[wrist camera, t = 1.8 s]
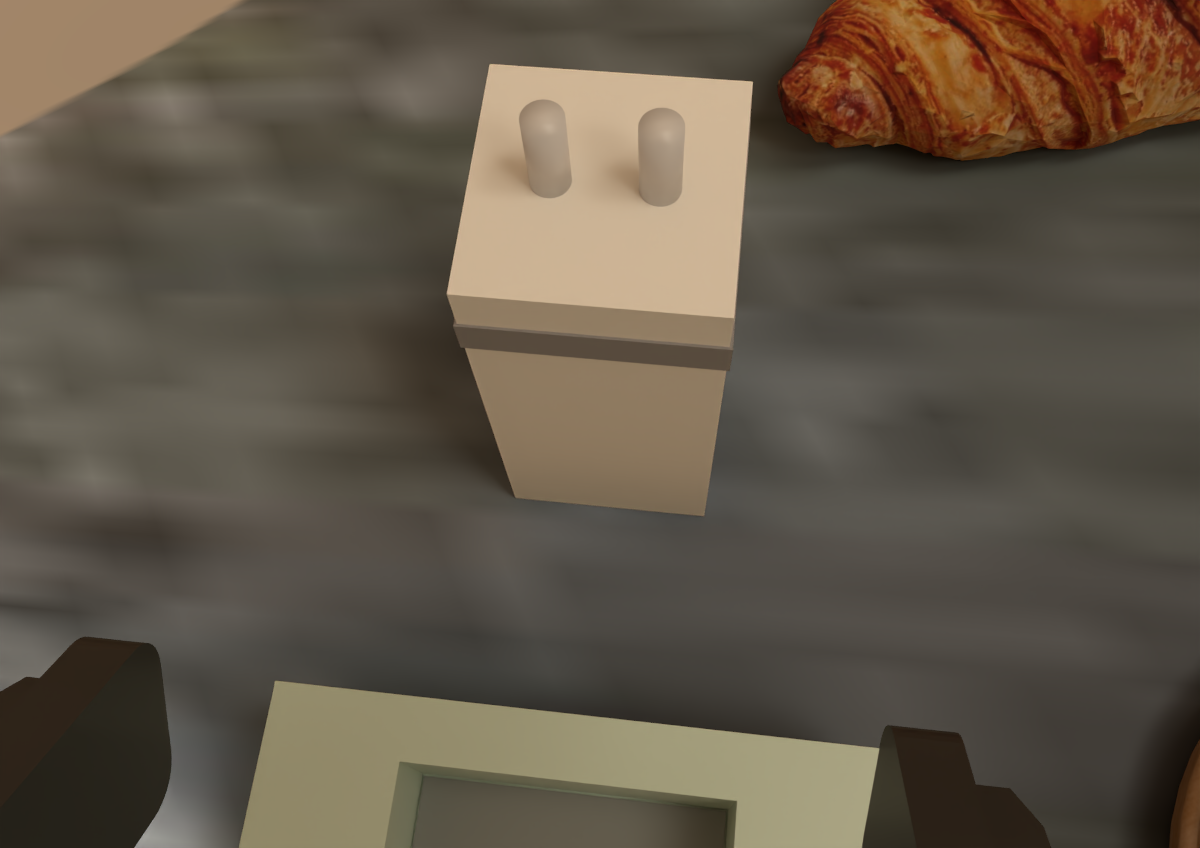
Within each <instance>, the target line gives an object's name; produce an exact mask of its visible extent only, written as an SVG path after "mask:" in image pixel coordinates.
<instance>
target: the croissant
mask: <svg viewBox="0 0 1200 848" xmlns="http://www.w3.org/2000/svg"><path fill="white" fill-rule="evenodd" d="M777 86H778V96H779V99H780V102H781V105H782V109H783V112H784V115H785V116H786V120H787V122H788V123H790V124H792V125H794V126H795V127H797V128H799V129H800V130H801V131H802V132H804V133H805V134H811V135H812V137H813V138H814V140H815V141H816V142H827V143H829V144H830V145H832V146H833V147H834V148H840V147H852V146H858V145H864V144H869V145H871V146H873V147H876V146H881V145H888V144H895V143H898V144H901V145H904V146H908V147H911V148H913V149H916V150H918V151H921V152H923V153H929V152H930V153H931V154H932V155H933V156H943V157H947V158H951V159H955V160H961V161H964V160H972V159H981V158H989V157H1001V156H1004V155H1007V154H1010V153H1013V152H1018V151H1026V150H1030V149H1035V148H1039V147H1046V148H1049V149H1071V150H1076V149H1088V148H1094V147H1098V146H1101V145H1105V144H1109V143H1113V142H1115V141H1117V140H1120V139H1122V138H1126V137H1130V136H1134V135H1138V134H1140V133H1142V132H1144V131H1146V130H1149V129H1153V128H1156V127H1160V126H1164V125H1172V124H1180V123H1186V122H1191V121H1196V120H1200V0H837V1H836V2H834V3H833V4H832V5H831V6H830V7H829V8H828V9H827V10H826V11H825V12H824V13H823V14H822V15H821V16H820V17H819V18H818V21H817V23H816V25H815V27H814V29H813V31H812V34H811V36H810V38H809V40H808V42H807V45H806V47H805V48H804V49H803V51H802V52H801V53H800V54H799V55H798V56H797V57H796V59H795V61H794V64H793V66H792V68H791V69H789V70H788V71H787V72H786V73H785V74H784V75H783V76H782V78H781V79H780V80H779V82H778V85H777Z"/></svg>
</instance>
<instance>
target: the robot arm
mask: <svg viewBox="0 0 1200 848" xmlns="http://www.w3.org/2000/svg"><path fill="white" fill-rule="evenodd" d="M170 773H171V746H170V738H169V730H168V721H167V713H166V705H165V696H164V688H163V680H162V671H161V663H160V657H159V654H158V652H157V650H156V648H155V647H154V646H153V645H151V644H149V643H140V642H131V641H121V640H112V639H103V638H94V637H82V638H80V639H78V640H76V641H75V642H74V643H73V644H72V645H71V646H70V647H69V648H68V649H67V650H66V651H65V652H64V653H63V654H62V655H61V656H60V657H59V658H58V659H57V661H56V662H55V663H54V664H53V665H52V666H51V667H50V668H49V669H48V670H47V671H46V672H45V673H44V674H43V675H42V676H41V677H40V678H33V677H25V678H23V679H22V680H20V681H18V682H16V683H15V684H13V685H11V686H9V687H8V688H6V689H4V690H3V691H1V692H0V848H134V847H135V846H136V844H137V843H138V841H139V840H140V838H141V837H142V835H143V834H144V832H145V831H146V829H147V828H148V826H149V825H150V823H151V822H152V820H153V819H154V817H155V816H156V814H157V812H158V810H159V808H160V806H161V804H162V802H163V799H164V797H165V794H166V791H167V787H168V783H169V779H170ZM862 848H1051V846H1050V844H1049V841H1048V838H1047V835H1046V832H1045V830H1044V827H1043V826H1042V825H1041V823H1040V822H1039V821H1038V820H1037V819H1036V818H1035V817H1034V815H1033V814H1032V813H1031V812H1030V811H1029V810H1028V809H1027V807H1026V806H1025V805H1024V804H1023V803H1022V802H1021V801H1020V799H1019V798H1018V797H1017V796H1016V795H1015V794H1014V793H1013V791H1012V790H1011V789H1010V788H1001V787H992V786H983V785H976V784H975V780H974V777H973V774H972V770H971V767H970V763H969V760H968V757H967V753H966V750H965V746H964V743H963V740H962V738H961V736H960V735H959V734H958V733H955V732H945V731H936V730H927V729H917V728H908V727H899V726H890V725H888V726H886V728H885V729H884V732H883V735H882V738H881V743H880V748H879V754H878V759H877V765H876V770H875V776H874V781H873V787H872V792H871V797H870V803H869V808H868V814H867V819H866V825H865V830H864V836H863V843H862Z"/></svg>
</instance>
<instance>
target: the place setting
mask: <svg viewBox="0 0 1200 848" xmlns="http://www.w3.org/2000/svg"><path fill="white" fill-rule="evenodd" d="M1169 848H1200V739H1199V741H1198V743H1197V745H1196V746H1195V748H1194V750H1193V752H1192V754H1191V757H1190V759H1189V762H1188V765H1187V767H1186V770H1185V772H1184V775H1183V778H1182V780H1181V783H1180V786H1179V789H1178V794H1177V798H1176V803H1175V808H1174V812H1173V817H1172V821H1171V830H1170V842H1169Z"/></svg>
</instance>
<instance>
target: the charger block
mask: <svg viewBox="0 0 1200 848" xmlns="http://www.w3.org/2000/svg"><path fill="white" fill-rule="evenodd" d="M752 87H753V82H750V81H735V80H720V79H705V78H690V77H675V76H660V75H646V74H631V73H616V72H601V71H586V70H571V69H556V68H541V67H526V66H511V65H496V64H490V66H489V71H488V76H487V82H486V87H485V92H484V98H483V103H482V108H481V114H480V119H479V124H478V130H477V135H476V140H475V146H474V151H473V156H472V162H471V167H470V172H469V178H468V183H467V188H466V194H465V199H464V204H463V210H462V215H461V220H460V226H459V231H458V236H457V242H456V247H455V252H454V258H453V263H452V268H451V274H450V279H449V284H448V290H447V297H448V300H449V303H450V306H451V309H452V312H453V315H454V324H453V327H454V330H455V333H456V336H457V339H458V342H459V345H460V348H465V350H466V353H467V356H468V359H469V362H470V365H471V368H472V371H473V374H474V377H475V380H476V383H477V386H478V389H479V392H480V395H481V398H482V401H483V404H484V407H485V410H486V413H487V416H488V418H489V421H490V424H491V427H492V430H493V433H494V436H495V439H496V442H497V445H498V448H499V451H500V454H501V457H502V460H503V463H504V466H505V469H506V472H507V475H508V478H509V481H510V484H511V487H512V490H513V493H514V496H515V498H521V499H531V500H541V501H551V502H562V503H572V504H582V505H593V506H603V507H613V508H623V509H634V510H644V511H654V512H664V513H675V514H685V515H695V516H704V514H705V507H706V501H707V494H708V487H709V481H710V474H711V468H712V461H713V455H714V448H715V442H716V435H717V428H718V422H719V415H720V409H721V402H722V396H723V389H724V383H725V376H726V371H730V365H731V358H732V352H733V341H734V328H735V316H736V303H737V290H738V277H739V265H740V252H741V239H742V226H743V213H744V201H745V188H746V175H747V162H748V150H749V137H750V124H751V117H750V112H751V100H752Z"/></svg>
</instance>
